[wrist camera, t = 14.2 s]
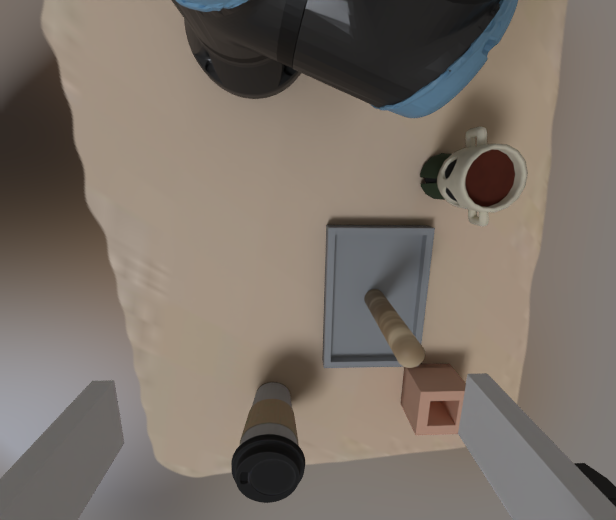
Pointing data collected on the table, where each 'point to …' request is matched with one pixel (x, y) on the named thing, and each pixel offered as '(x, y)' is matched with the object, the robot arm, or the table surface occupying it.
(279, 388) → the coffee cup
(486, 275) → the table surface
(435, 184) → the character mug
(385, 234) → the tray
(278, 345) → the table surface
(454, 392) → the pink square tube
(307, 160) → the table surface
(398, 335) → the dowel
